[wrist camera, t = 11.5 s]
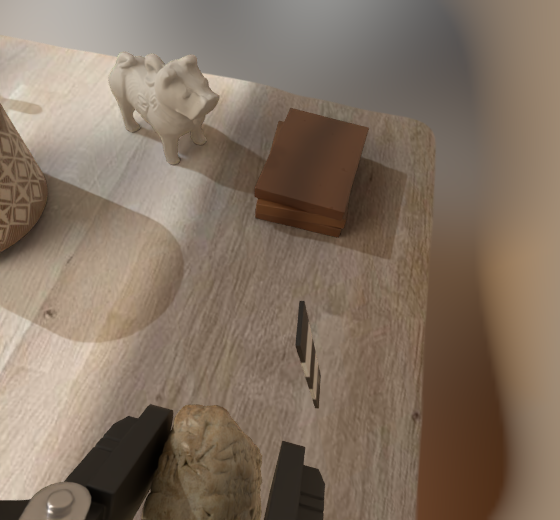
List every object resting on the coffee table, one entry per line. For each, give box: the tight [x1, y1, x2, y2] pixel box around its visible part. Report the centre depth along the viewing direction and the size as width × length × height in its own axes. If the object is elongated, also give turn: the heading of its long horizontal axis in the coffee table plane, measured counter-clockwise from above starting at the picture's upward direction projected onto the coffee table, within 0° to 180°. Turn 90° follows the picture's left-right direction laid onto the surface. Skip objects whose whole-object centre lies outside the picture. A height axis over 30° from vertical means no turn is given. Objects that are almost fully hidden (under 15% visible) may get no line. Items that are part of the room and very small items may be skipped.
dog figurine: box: [108, 52, 219, 165], centre depth 40 cm, size 5×13×11 cm, turn 50°
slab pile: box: [255, 108, 369, 237], centre depth 40 cm, size 9×12×4 cm
